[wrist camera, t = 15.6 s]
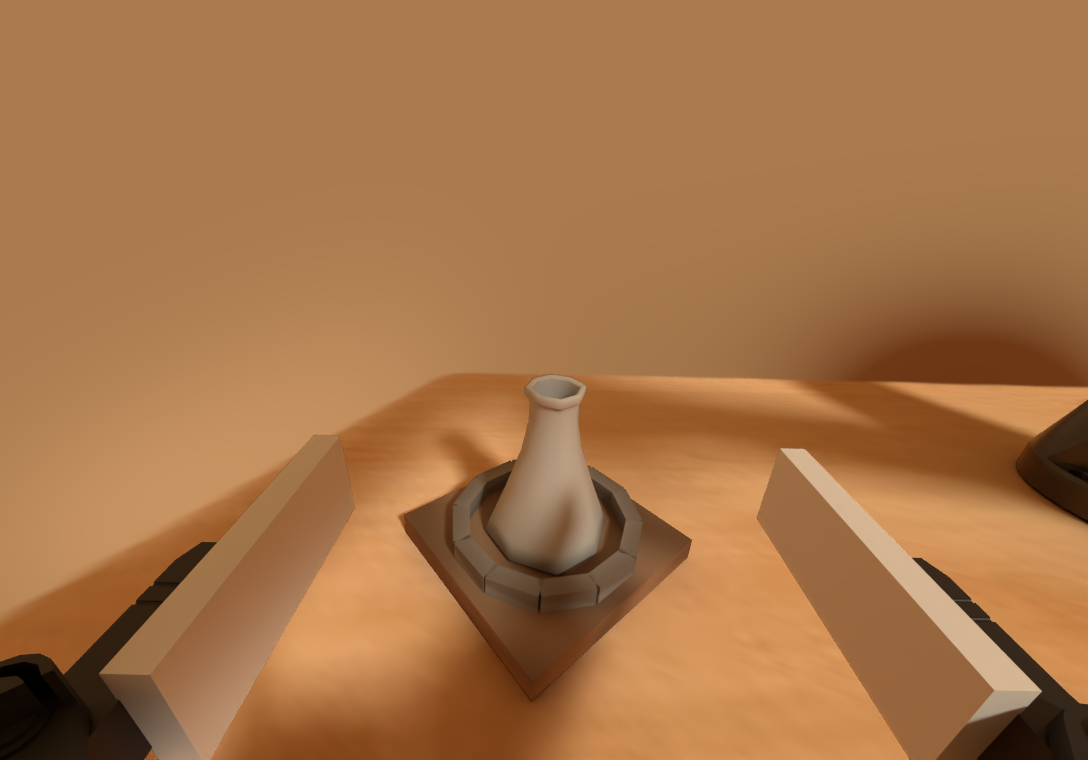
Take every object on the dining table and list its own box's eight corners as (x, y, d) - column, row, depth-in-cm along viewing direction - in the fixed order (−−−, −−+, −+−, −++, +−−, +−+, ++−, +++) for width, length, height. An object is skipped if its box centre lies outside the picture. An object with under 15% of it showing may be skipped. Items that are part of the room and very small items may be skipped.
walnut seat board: (551, 461, 36) (553, 434, 34) (687, 557, 27) (695, 525, 26) (406, 532, 28) (402, 500, 27) (531, 701, 19) (534, 664, 18)
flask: (464, 533, 26) (458, 388, 22) (535, 477, 31) (541, 351, 27) (561, 599, 22) (577, 438, 18) (623, 521, 27) (646, 384, 23)
